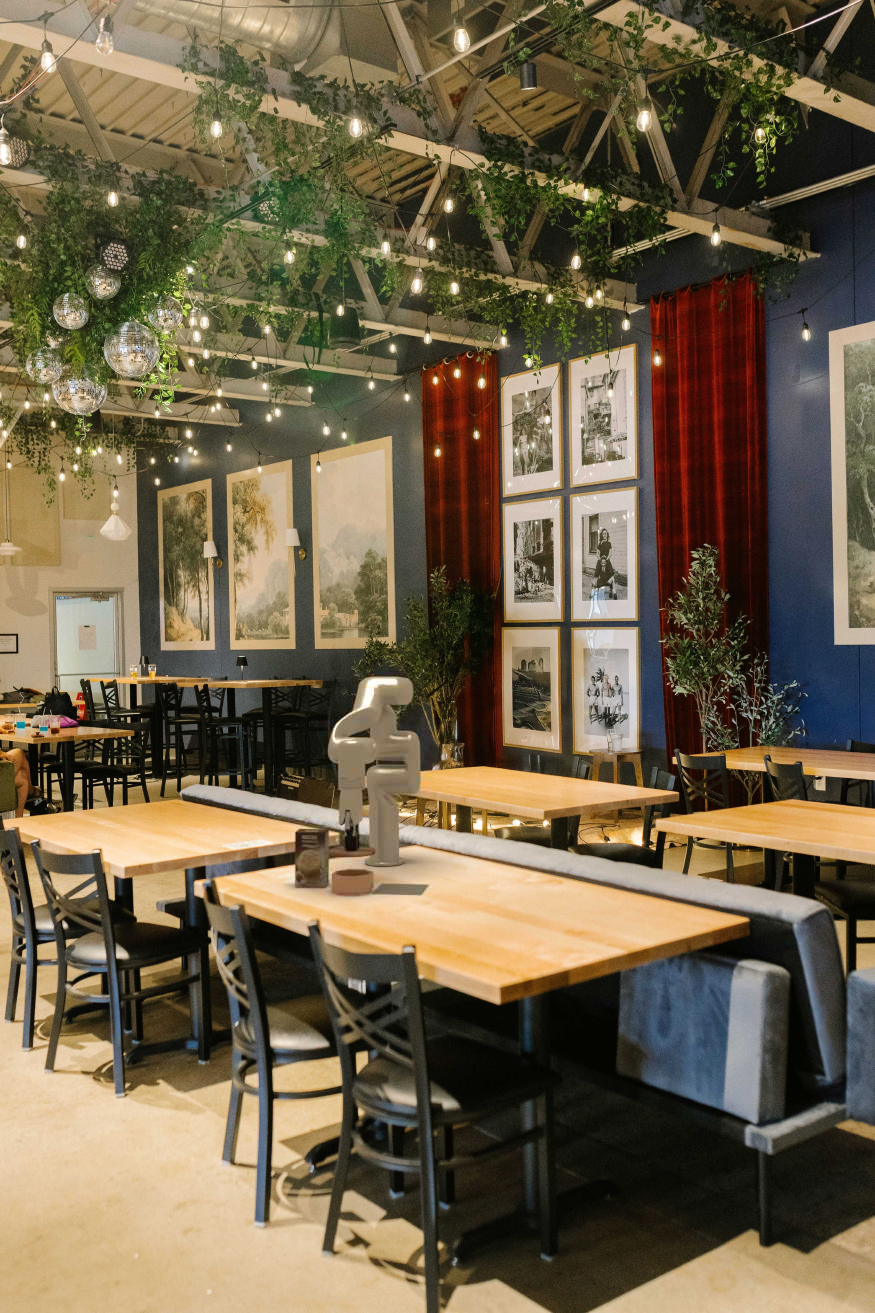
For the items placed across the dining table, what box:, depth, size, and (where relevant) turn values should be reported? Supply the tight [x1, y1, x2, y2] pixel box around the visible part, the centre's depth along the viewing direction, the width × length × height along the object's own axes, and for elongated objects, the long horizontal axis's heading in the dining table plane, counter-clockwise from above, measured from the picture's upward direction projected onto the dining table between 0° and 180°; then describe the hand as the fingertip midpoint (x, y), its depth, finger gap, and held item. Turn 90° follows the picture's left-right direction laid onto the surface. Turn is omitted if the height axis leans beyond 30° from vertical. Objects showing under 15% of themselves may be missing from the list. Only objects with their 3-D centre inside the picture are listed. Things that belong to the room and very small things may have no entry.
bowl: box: [331, 868, 375, 897], centre depth 298 cm, size 11×11×6 cm
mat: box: [371, 883, 430, 896], centre depth 300 cm, size 14×14×1 cm
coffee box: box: [294, 828, 330, 889], centre depth 309 cm, size 9×6×16 cm
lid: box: [329, 831, 376, 858], centre depth 298 cm, size 13×13×6 cm
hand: (352, 849), depth 298 cm, fingers closed on lid, 2 cm apart
